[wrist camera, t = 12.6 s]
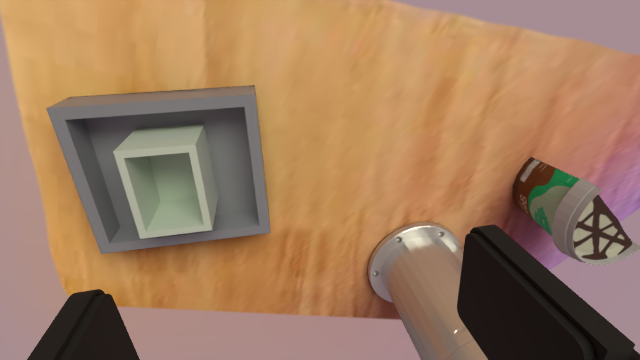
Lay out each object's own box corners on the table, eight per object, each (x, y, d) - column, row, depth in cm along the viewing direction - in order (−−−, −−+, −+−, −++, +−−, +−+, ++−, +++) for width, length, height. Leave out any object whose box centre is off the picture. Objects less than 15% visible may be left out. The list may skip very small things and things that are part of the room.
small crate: (204, 123, 33) (195, 144, 27) (217, 198, 36) (212, 230, 31) (136, 128, 32) (113, 151, 26) (156, 204, 35) (140, 238, 30)
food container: (485, 185, 43) (546, 231, 34) (525, 149, 42) (600, 186, 33) (532, 235, 48) (596, 286, 39) (569, 204, 47) (643, 250, 38)
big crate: (254, 85, 33) (255, 94, 29) (268, 212, 39) (270, 232, 35) (70, 97, 31) (46, 108, 27) (115, 230, 37) (101, 253, 33)
